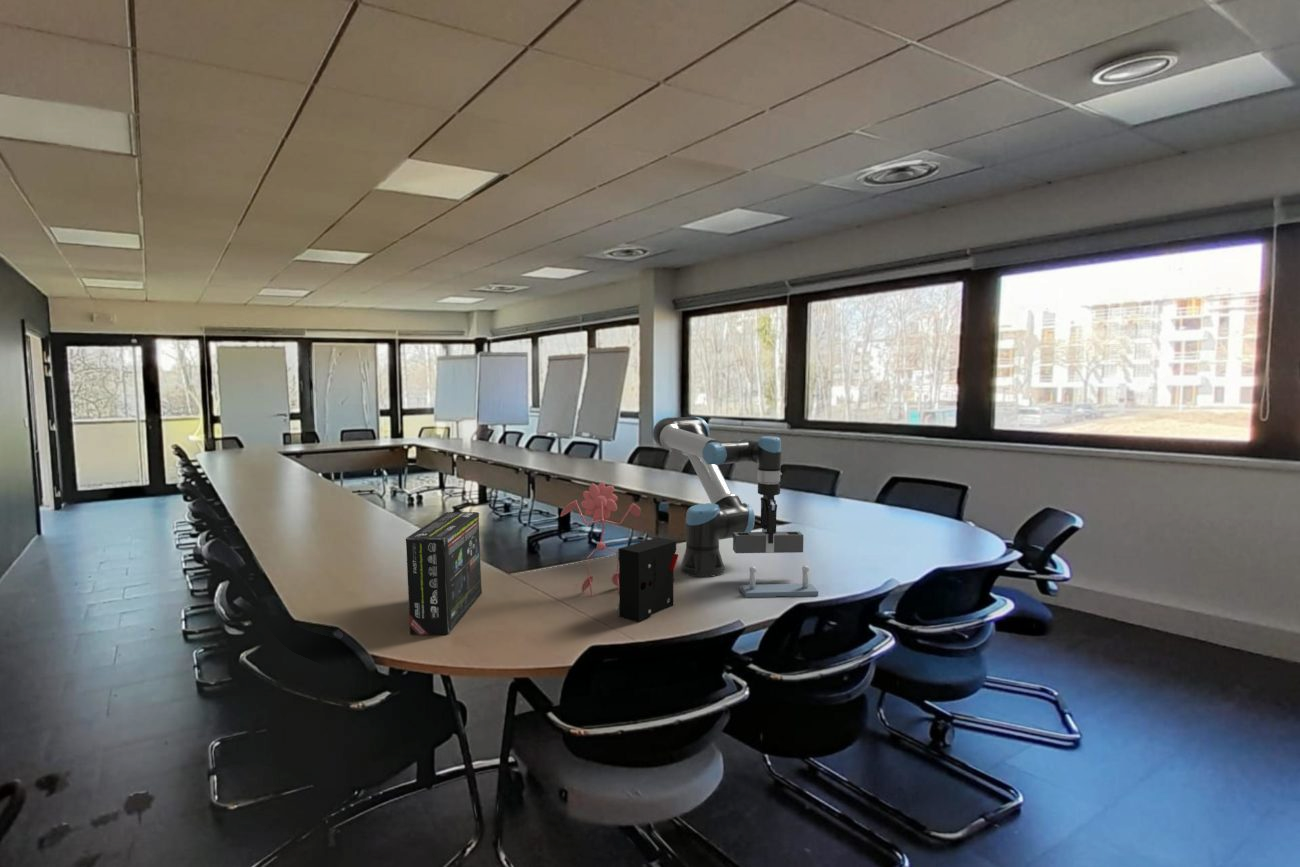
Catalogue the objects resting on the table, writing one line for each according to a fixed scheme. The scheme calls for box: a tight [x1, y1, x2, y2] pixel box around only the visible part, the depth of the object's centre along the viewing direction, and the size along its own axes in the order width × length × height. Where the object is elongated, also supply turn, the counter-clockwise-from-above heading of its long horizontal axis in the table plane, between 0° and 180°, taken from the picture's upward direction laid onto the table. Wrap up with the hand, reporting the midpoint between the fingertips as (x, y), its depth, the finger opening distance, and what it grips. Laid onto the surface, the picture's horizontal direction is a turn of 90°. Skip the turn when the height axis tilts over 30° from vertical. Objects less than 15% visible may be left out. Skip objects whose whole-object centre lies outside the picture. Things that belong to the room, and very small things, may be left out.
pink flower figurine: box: [560, 482, 642, 597], centre depth 218 cm, size 15×26×35 cm, turn 110°
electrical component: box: [615, 536, 679, 623], centre depth 198 cm, size 18×10×20 cm, turn 141°
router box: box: [405, 511, 483, 636], centre depth 196 cm, size 36×11×27 cm, turn 0°
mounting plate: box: [740, 564, 819, 598], centre depth 214 cm, size 23×8×9 cm, turn 93°
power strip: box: [732, 531, 804, 554], centre depth 229 cm, size 23×5×6 cm, turn 93°
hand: (767, 549), depth 229 cm, fingers closed on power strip, 5 cm apart
